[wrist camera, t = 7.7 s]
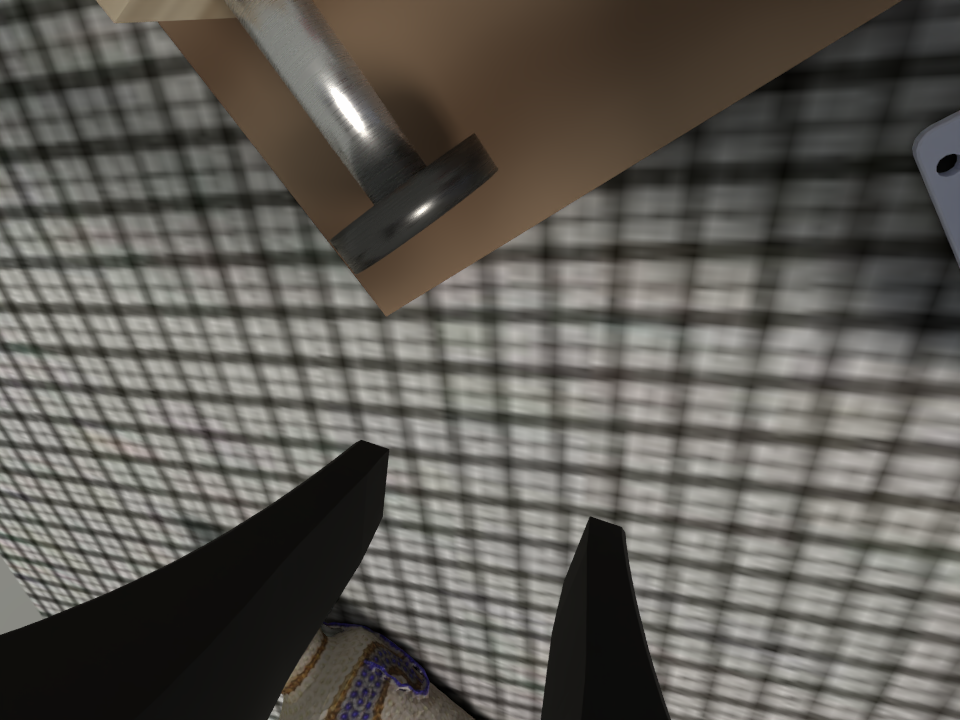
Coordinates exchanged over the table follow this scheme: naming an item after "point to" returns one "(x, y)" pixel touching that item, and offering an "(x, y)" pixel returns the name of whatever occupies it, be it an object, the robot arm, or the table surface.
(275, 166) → the cradle
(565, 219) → the table surface
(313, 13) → the shaft
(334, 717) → the decorative bottle
